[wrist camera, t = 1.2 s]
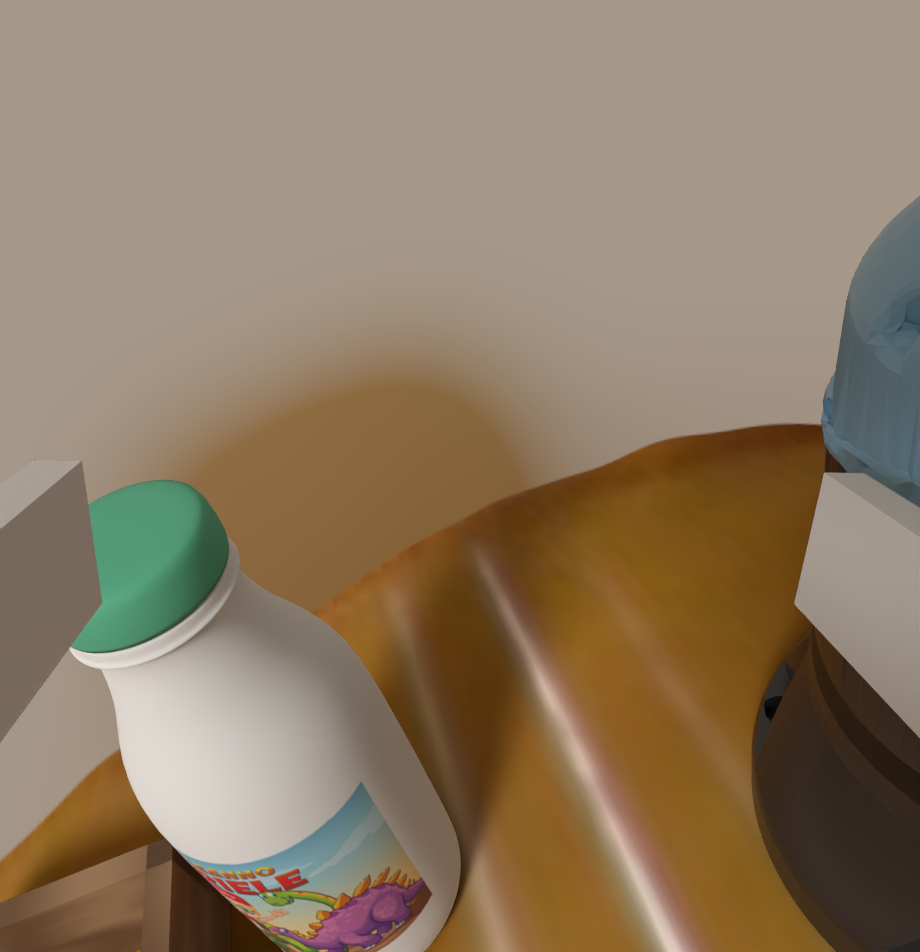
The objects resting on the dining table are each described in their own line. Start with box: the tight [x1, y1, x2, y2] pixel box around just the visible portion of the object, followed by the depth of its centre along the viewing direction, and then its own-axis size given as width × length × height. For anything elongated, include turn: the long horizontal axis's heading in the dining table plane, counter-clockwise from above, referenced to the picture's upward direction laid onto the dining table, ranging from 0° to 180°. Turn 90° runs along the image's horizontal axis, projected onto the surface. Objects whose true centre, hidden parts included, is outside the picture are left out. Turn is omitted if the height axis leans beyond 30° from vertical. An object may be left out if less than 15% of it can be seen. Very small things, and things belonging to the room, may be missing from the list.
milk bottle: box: [69, 480, 461, 952], centre depth 24 cm, size 8×8×20 cm
